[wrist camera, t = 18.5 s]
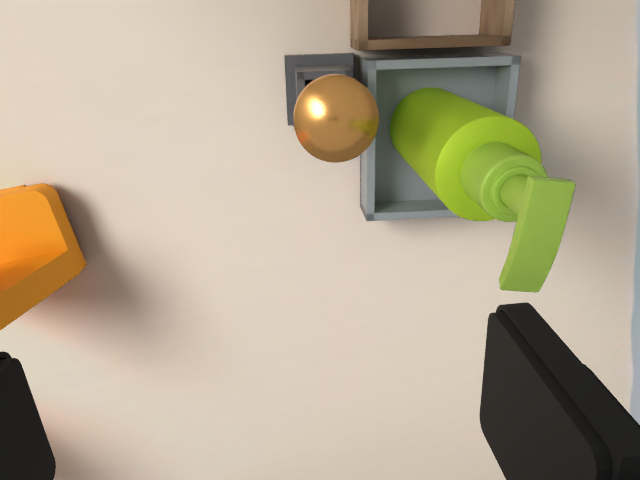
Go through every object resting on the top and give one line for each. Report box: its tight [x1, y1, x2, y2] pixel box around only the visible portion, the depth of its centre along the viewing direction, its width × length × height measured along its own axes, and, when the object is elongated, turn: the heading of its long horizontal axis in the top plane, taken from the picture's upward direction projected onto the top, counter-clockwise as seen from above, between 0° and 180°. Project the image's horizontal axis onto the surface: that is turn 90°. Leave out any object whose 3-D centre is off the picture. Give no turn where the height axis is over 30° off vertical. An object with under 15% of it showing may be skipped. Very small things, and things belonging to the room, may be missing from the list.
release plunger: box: [294, 74, 379, 162], centre depth 33 cm, size 4×4×13 cm
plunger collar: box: [285, 53, 353, 125], centre depth 37 cm, size 5×5×6 cm
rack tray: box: [360, 53, 521, 221], centre depth 40 cm, size 12×11×4 cm
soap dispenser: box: [390, 87, 575, 292], centre depth 32 cm, size 6×7×20 cm
